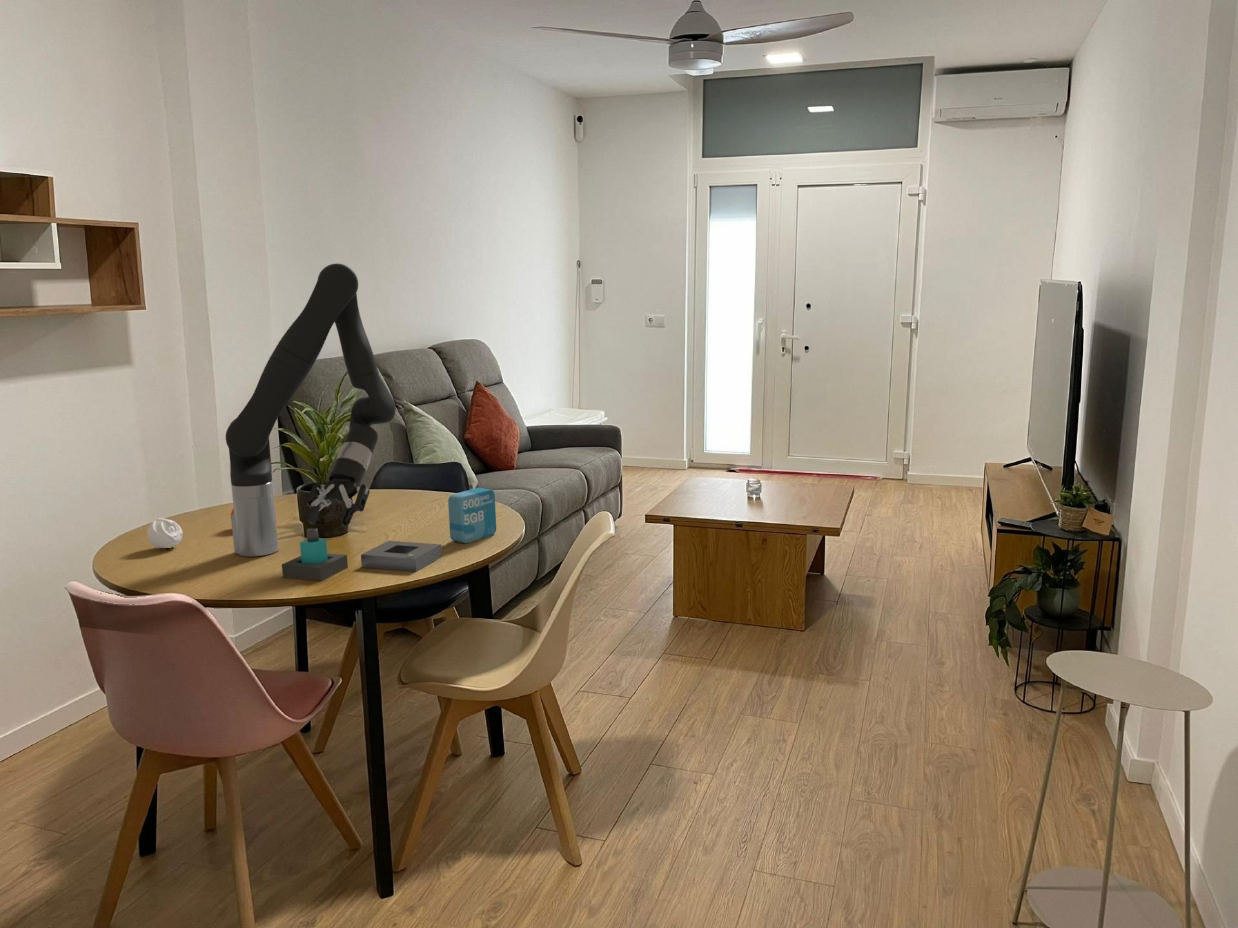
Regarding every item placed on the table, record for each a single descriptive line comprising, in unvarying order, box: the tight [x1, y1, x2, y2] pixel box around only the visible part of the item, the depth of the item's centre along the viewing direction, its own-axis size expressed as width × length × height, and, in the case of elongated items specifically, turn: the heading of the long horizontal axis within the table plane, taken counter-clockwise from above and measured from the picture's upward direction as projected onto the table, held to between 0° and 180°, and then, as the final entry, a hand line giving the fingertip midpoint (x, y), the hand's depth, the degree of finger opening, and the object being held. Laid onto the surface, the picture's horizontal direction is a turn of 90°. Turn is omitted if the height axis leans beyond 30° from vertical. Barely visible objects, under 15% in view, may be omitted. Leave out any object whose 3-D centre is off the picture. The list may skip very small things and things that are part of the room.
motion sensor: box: [146, 517, 183, 549], centre depth 231 cm, size 8×8×8 cm
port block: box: [360, 540, 443, 573], centre depth 216 cm, size 14×12×3 cm
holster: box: [281, 552, 348, 582], centre depth 210 cm, size 10×10×3 cm
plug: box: [299, 527, 328, 564], centre depth 209 cm, size 4×4×10 cm
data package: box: [447, 487, 497, 544], centre depth 235 cm, size 12×4×12 cm, turn 143°
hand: (326, 524), depth 213 cm, fingers open, 8 cm apart
